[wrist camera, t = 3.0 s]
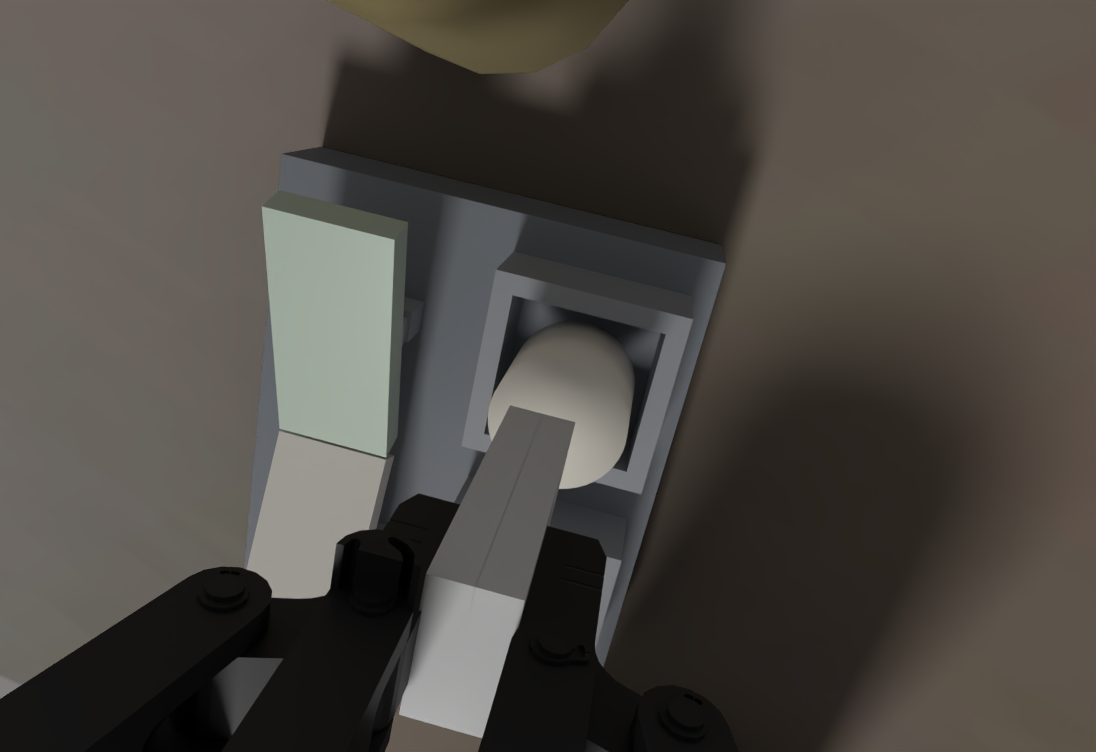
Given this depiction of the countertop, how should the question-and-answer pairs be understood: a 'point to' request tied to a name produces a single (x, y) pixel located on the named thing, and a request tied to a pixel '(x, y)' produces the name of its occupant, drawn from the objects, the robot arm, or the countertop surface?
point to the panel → (515, 336)
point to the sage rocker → (336, 319)
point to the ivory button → (573, 393)
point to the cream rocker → (313, 511)
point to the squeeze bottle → (491, 29)
